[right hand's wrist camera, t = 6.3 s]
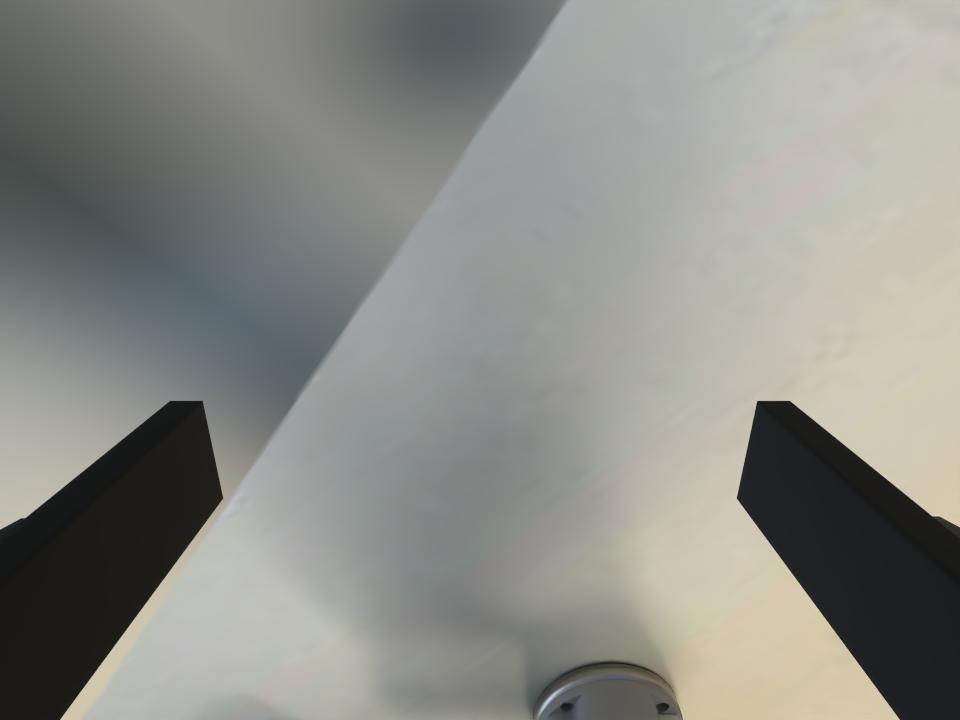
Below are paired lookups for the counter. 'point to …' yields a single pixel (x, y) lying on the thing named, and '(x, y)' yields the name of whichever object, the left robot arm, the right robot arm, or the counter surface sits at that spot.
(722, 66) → the counter surface
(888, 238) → the counter surface
